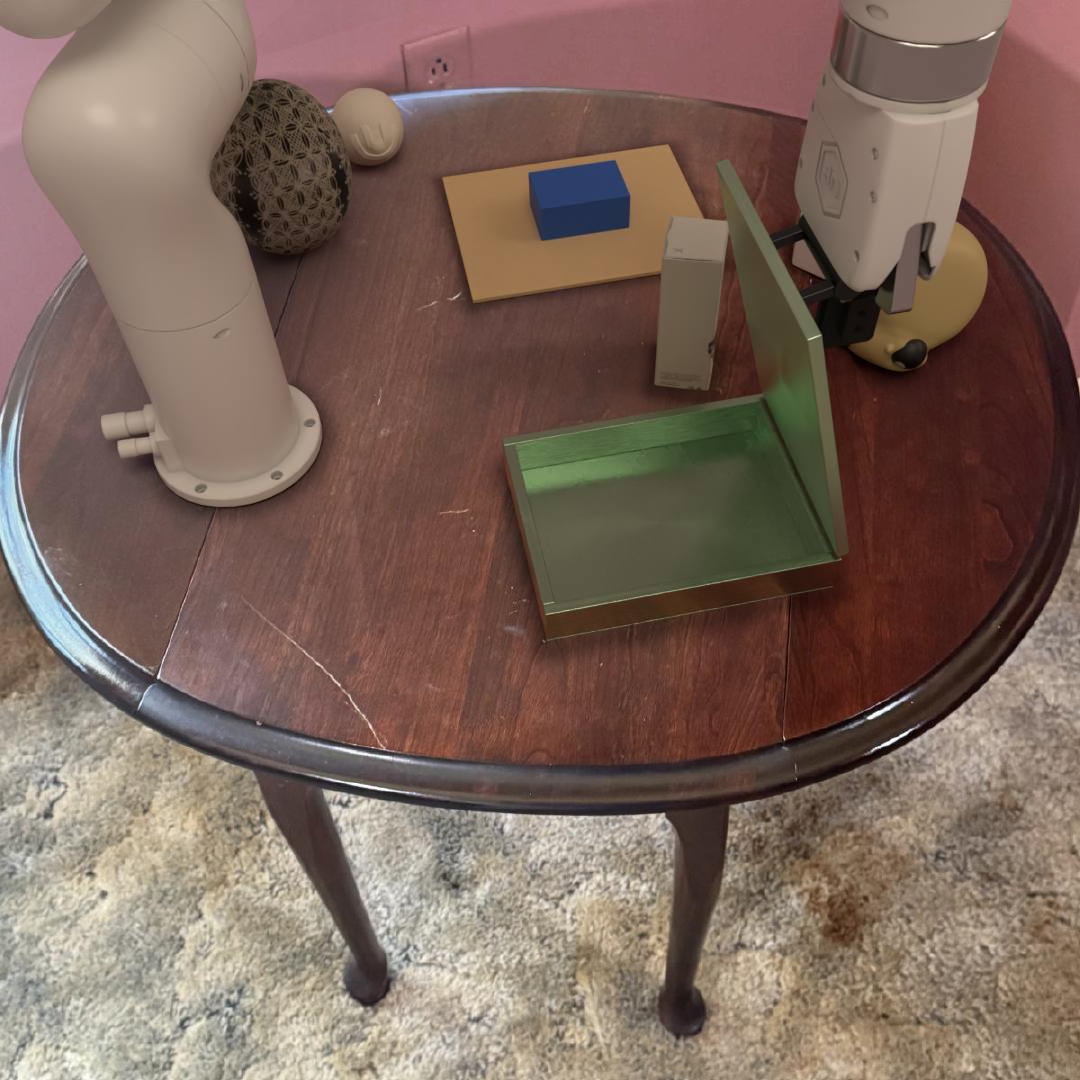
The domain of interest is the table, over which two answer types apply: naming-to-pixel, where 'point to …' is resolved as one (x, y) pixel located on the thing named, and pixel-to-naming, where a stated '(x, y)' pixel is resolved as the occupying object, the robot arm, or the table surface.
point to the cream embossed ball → (369, 125)
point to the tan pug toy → (931, 308)
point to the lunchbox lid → (789, 346)
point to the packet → (579, 200)
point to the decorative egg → (283, 170)
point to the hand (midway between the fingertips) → (842, 335)
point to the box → (690, 301)
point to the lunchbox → (664, 516)
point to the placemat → (541, 266)
